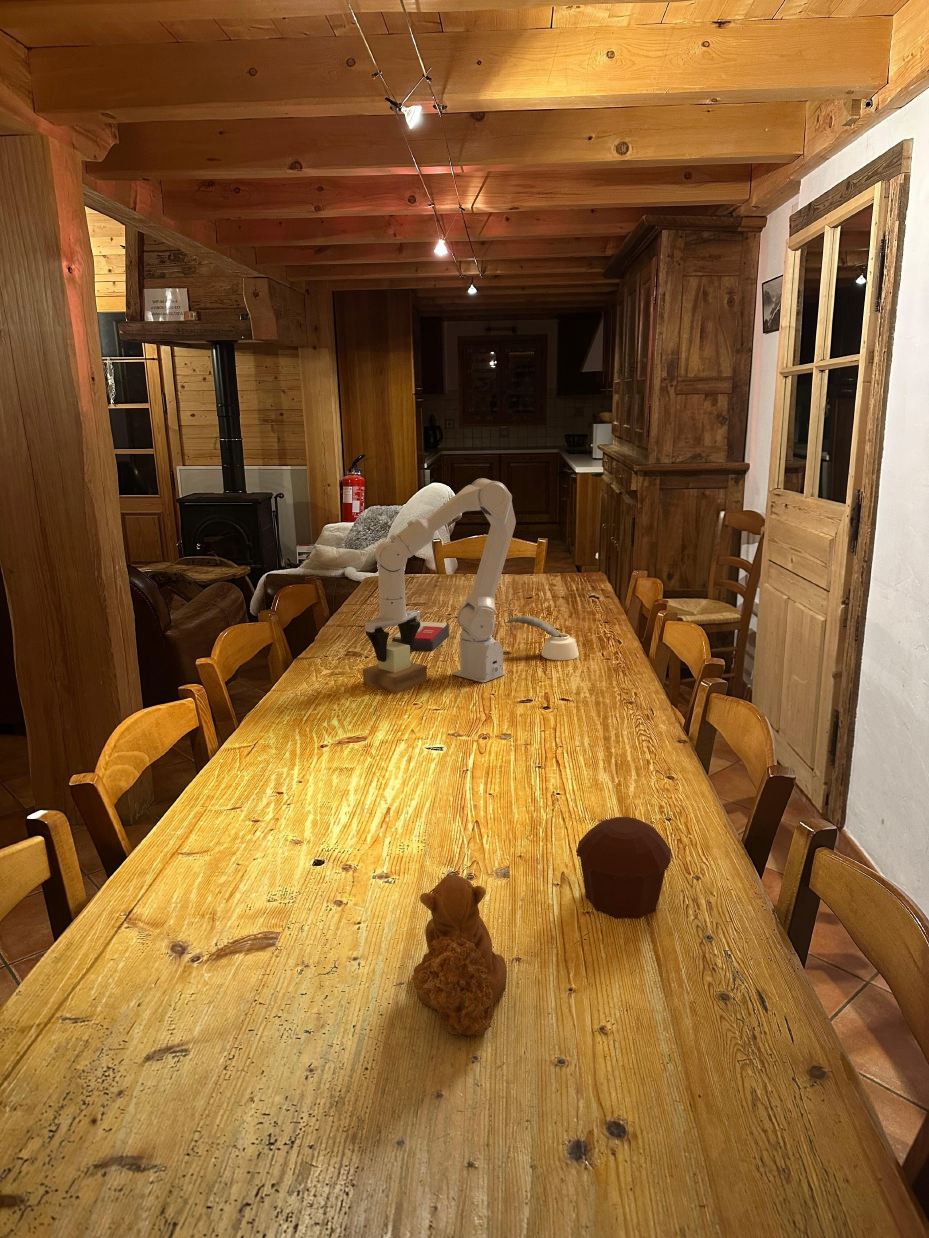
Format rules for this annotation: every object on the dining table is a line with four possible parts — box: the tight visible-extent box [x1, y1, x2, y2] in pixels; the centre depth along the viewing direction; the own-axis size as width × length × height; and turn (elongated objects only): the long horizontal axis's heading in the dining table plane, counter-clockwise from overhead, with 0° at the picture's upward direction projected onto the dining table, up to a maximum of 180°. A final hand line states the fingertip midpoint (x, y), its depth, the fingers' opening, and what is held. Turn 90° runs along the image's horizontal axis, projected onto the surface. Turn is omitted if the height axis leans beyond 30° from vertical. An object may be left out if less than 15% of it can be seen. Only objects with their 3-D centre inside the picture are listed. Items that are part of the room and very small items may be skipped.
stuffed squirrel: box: [410, 873, 508, 1037], centre depth 84 cm, size 10×14×13 cm
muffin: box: [576, 816, 672, 920], centre depth 102 cm, size 12×11×10 cm
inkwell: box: [505, 615, 580, 661], centre depth 204 cm, size 9×18×10 cm, turn 91°
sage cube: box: [377, 641, 411, 672], centre depth 185 cm, size 5×5×5 cm
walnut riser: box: [362, 661, 428, 694], centre depth 186 cm, size 10×10×4 cm
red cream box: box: [391, 621, 450, 652], centre depth 218 cm, size 11×4×15 cm
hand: (394, 657), depth 185 cm, fingers open, 7 cm apart
